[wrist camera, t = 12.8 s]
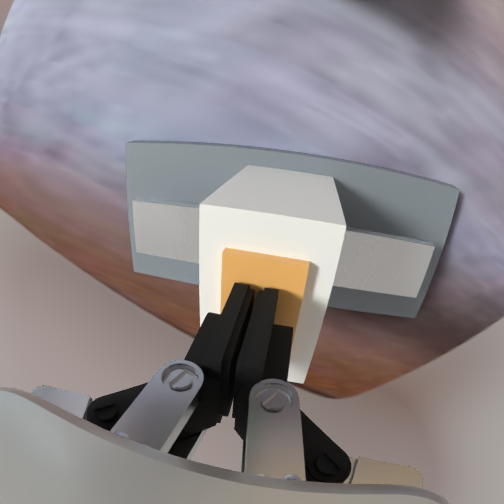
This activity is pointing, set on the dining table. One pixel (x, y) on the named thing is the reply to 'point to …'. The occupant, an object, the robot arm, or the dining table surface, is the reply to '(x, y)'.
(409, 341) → the dining table surface
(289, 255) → the block
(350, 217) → the mount plate
